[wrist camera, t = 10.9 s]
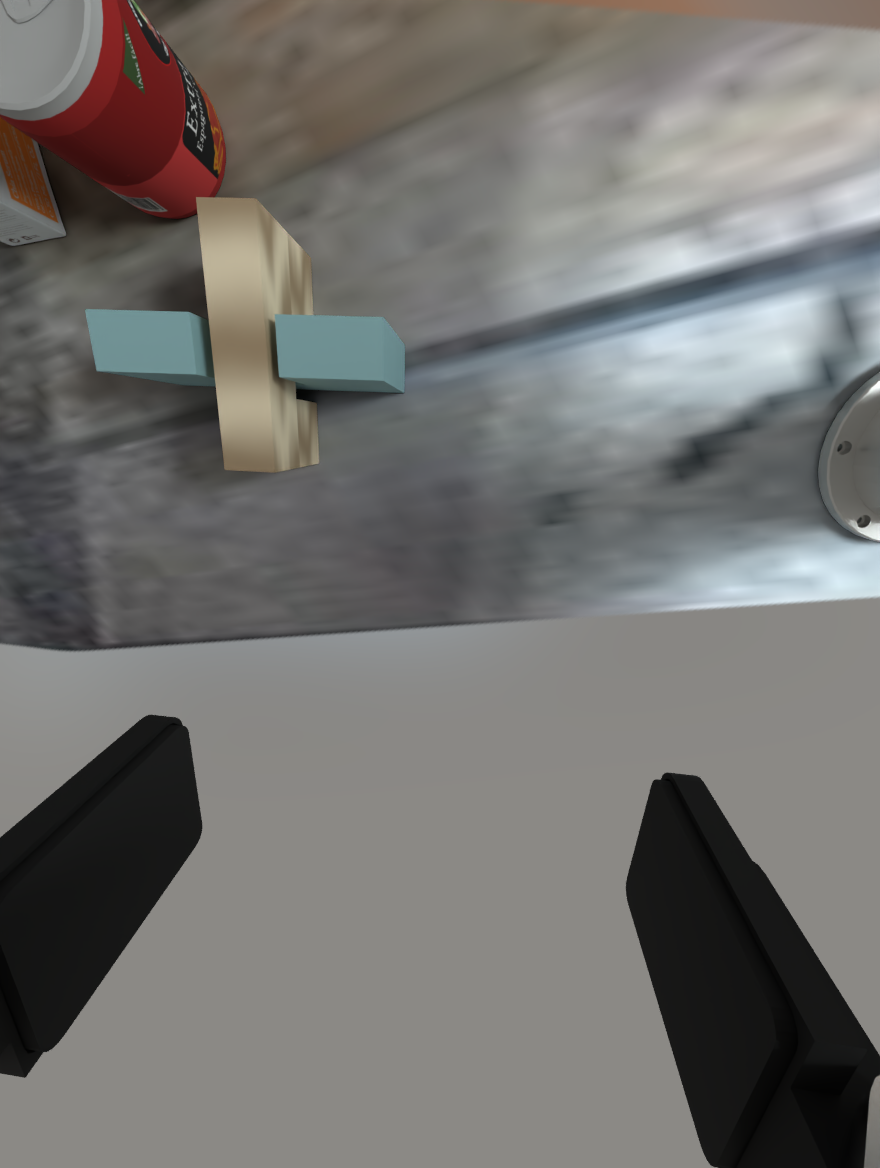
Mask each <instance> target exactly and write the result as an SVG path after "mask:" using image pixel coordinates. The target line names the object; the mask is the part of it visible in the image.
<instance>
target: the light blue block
mask: <svg viewBox="0 0 880 1168" xmlns="http://www.w3.org/2000/svg"><path fill="white" fill-rule="evenodd" d="M85 311H86V317H87V322H88V327H89V333H90V338H91V344H92V349H93V354H94V360H95V365H96V370H97V371H99V372H106V373H112V374H118V375H124V376H130V377H136V378H142V379H148V380H154V381H161V382H167V383H173V384H179V385H191V386H216V383H215V374H214V364H213V355H212V345H211V336H210V327H209V320H207V319H204V318H202V317H200V316H197V315H195V314H193V313H190V312H173V311H135V310H98V309H85ZM275 326H276V341H277V355H278V369H279V377H280V378H284V379H287V380H291V381H294V382H295V384H296V389H305V390H333V391H362V392H390V393H404V384H405V345H404V343H403V342H402V341H401V340H400V338H399V337H398V336H397V334H396V333H395V332H394V330H393V329H392V328H391V327H390V325H389V324H388V323H387V321H386V320H385V319H384V317H362V316H324V315H286V314H275Z"/></svg>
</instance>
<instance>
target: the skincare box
mask: <svg viewBox="0 0 880 1168" xmlns="http://www.w3.org/2000/svg"><path fill="white" fill-rule="evenodd" d="M63 236H66V231H65V229H64V226H63V223H62V221H61V218H60V214H59V211H58V208H57V205H56V202H55V199H54V195H53V192H52V189H51V186H50V183H49V180H48V177H47V173H46V170H45V166H44V163H43V160H42V156H41V153H40V150H39V146H38V143H37V142H36V141H35V140H33V139H32V138H30V137H29V136H27V135H26V134H24V133H23V132H21V131H20V130H18V129H17V128H15V127H14V126H12V125H11V124H9V123H8V122H6V121H5V120H3V119H2V118H1V117H0V241H1V242H3V243H6V244H8V245H11V246H16V245H22V244H27V243H32V242H37V241H42V240H47V239H53V238H58V237H63Z"/></svg>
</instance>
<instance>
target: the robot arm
mask: <svg viewBox="0 0 880 1168" xmlns="http://www.w3.org/2000/svg"><path fill="white" fill-rule="evenodd" d="M818 476H819V488H820V491H821V495H822V498H823V502H824V504H825V505H826V507H827V509H828V511H829V512H830V514H831V516H832V517H833V518H834V519H835V520H836V521H837V522H838V523H839V524H840V525H841V526H842V527H844V528H845V529H847V530H848V531H850V532H852V533H853V534H855V535H858V536H861V537H863V538H866V539H869V540H873V541H877V542H880V372H879V373H877V374H876V375H875V376H873V377H872V378H871V379H869V380H868V381H866V382H865V383H864V384H863V385H862V386H861V387H860V388H859V389H858V390H857V391H856V392H855V393H854V394H853V395H852V396H851V397H850V398H849V400H848V401H847V402H846V404H845V405H844V406H843V408H842V409H841V410H840V412H839V413H838V414H837V416H836V418H835V419H834V421H833V423H832V425H831V427H830V429H829V431H828V432H827V435H826V438H825V441H824V444H823V447H822V450H821V454H820V460H819V467H818ZM201 833H202V820H201V813H200V806H199V800H198V793H197V786H196V779H195V772H194V765H193V758H192V752H191V745H190V738H189V732H188V729H187V728H186V727H185V726H183V725H182V722H181V721H180V719H178V718H175V717H166V716H157V715H148V716H145V717H144V718H142V719H141V720H140V721H138V722H137V723H136V724H135V725H134V726H132V727H131V728H130V729H129V730H128V731H127V732H125V733H124V734H123V735H122V736H121V737H119V738H118V739H117V740H116V741H115V742H113V743H112V744H111V745H110V746H109V747H108V748H106V749H105V750H104V751H103V752H102V753H100V754H99V755H98V756H97V757H96V758H95V759H93V760H92V761H91V762H90V763H88V764H87V765H86V766H85V767H84V768H83V769H81V770H80V771H79V772H78V773H77V774H75V775H74V776H73V777H72V778H71V779H69V780H68V781H67V782H66V783H65V784H63V786H61V787H60V788H59V789H57V790H56V791H55V792H54V793H53V794H52V795H50V796H49V797H48V798H47V799H46V800H44V801H43V802H42V803H41V804H40V805H38V806H37V807H36V808H35V809H34V810H33V811H31V812H30V813H29V814H28V815H27V816H25V817H24V818H23V819H22V820H21V821H19V822H18V823H17V824H16V825H15V826H13V827H12V828H11V829H10V830H9V831H7V832H6V833H5V834H4V835H3V836H2V837H1V838H0V1073H2V1074H7V1075H14V1076H19V1077H24V1078H25V1077H26V1076H27V1075H28V1073H29V1072H30V1070H31V1069H32V1067H33V1066H34V1065H35V1063H36V1062H37V1060H38V1059H39V1058H40V1056H41V1055H42V1053H43V1052H47V1051H49V1050H51V1049H52V1048H53V1047H54V1046H55V1045H57V1043H58V1042H59V1041H60V1040H61V1039H62V1037H63V1036H64V1035H65V1033H66V1032H67V1030H68V1029H69V1027H70V1026H71V1025H72V1023H73V1022H74V1020H75V1019H76V1018H77V1016H78V1015H79V1013H80V1011H81V1010H82V1009H83V1007H84V1006H85V1005H86V1003H87V1002H88V1000H89V999H90V997H91V996H92V995H93V993H94V992H95V990H96V989H97V987H98V986H99V985H100V983H101V982H102V980H103V979H104V977H105V976H106V974H107V973H108V972H109V970H110V969H111V967H112V966H113V964H114V963H115V962H116V960H117V959H118V957H119V956H120V954H121V953H122V951H123V950H124V949H125V947H126V946H127V944H128V943H129V941H130V940H131V939H132V937H133V936H134V934H135V933H136V931H137V930H138V928H139V927H140V926H141V924H142V923H143V921H144V920H145V918H146V917H147V915H148V914H149V913H150V911H151V910H152V908H153V907H154V906H155V904H156V902H157V901H158V900H159V898H160V897H161V895H162V894H163V892H164V891H165V890H166V888H167V887H168V885H169V884H170V883H171V881H172V879H173V878H174V877H175V875H176V874H177V872H178V871H179V870H180V868H181V867H182V865H183V864H184V862H185V861H186V860H187V858H188V856H189V855H190V854H191V852H192V851H193V849H194V848H195V846H196V845H197V843H198V841H199V839H200V836H201ZM626 895H627V901H628V905H629V908H630V911H631V915H632V918H633V921H634V925H635V928H636V931H637V935H638V938H639V941H640V945H641V948H642V951H643V955H644V958H645V961H646V965H647V968H648V971H649V975H650V978H651V981H652V985H653V988H654V991H655V994H656V998H657V1001H658V1004H659V1008H660V1011H661V1014H662V1018H663V1021H664V1025H665V1028H666V1031H667V1035H668V1038H669V1041H670V1045H671V1048H672V1051H673V1055H674V1058H675V1061H676V1065H677V1068H678V1071H679V1075H680V1078H681V1081H682V1085H683V1088H684V1091H685V1095H686V1098H687V1101H688V1105H689V1108H690V1111H691V1114H692V1118H693V1121H694V1125H695V1128H696V1131H697V1135H698V1138H699V1141H700V1144H701V1147H702V1150H703V1153H704V1155H705V1157H706V1159H707V1161H708V1162H709V1163H710V1165H711V1166H713V1167H718V1168H880V1056H879V1054H878V1052H877V1051H876V1049H875V1047H874V1046H873V1044H872V1043H871V1041H870V1039H869V1038H868V1036H867V1035H866V1033H865V1032H864V1030H863V1028H862V1027H861V1025H860V1024H859V1022H858V1020H857V1019H856V1017H855V1016H854V1014H853V1013H852V1011H851V1009H850V1008H849V1006H848V1005H847V1003H846V1001H845V1000H844V998H843V997H842V995H841V993H840V992H839V990H838V989H837V987H836V986H835V984H834V982H833V981H832V979H831V978H830V976H829V974H828V973H827V971H826V970H825V968H824V966H823V965H822V963H821V962H820V960H819V958H818V957H817V955H816V954H815V952H814V950H813V949H812V947H811V946H810V944H809V943H808V941H807V939H806V938H805V936H804V935H803V933H802V931H801V930H800V928H799V927H798V925H797V923H796V922H795V920H794V919H793V917H792V916H791V914H790V912H789V911H788V909H787V908H786V906H785V904H784V903H783V901H782V900H781V898H780V897H779V895H778V893H777V892H776V890H775V888H774V887H773V885H772V884H771V882H770V881H769V879H768V877H767V876H766V874H765V873H764V872H763V870H762V869H761V868H760V867H759V865H758V864H756V863H755V862H753V861H752V860H751V858H750V857H749V855H748V853H747V852H746V850H745V848H744V847H743V846H742V844H741V842H740V840H739V839H738V837H737V836H736V834H735V832H734V831H733V829H732V827H731V826H730V825H729V823H728V821H727V819H726V818H725V816H724V815H723V813H722V811H721V810H720V808H719V806H718V805H717V803H716V801H715V800H714V798H713V797H712V795H711V793H710V792H709V790H708V789H707V787H706V785H705V784H704V782H703V781H702V780H701V778H699V777H697V776H693V775H684V774H675V773H665V774H664V775H663V776H662V778H661V780H654V781H653V783H652V785H651V789H650V794H649V797H648V801H647V804H646V808H645V812H644V816H643V819H642V823H641V827H640V831H639V835H638V839H637V842H636V846H635V850H634V854H633V857H632V861H631V865H630V869H629V873H628V876H627V882H626Z"/></svg>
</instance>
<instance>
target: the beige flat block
mask: <svg viewBox="0 0 880 1168" xmlns="http://www.w3.org/2000/svg"><path fill="white" fill-rule="evenodd" d="M196 203H197V213H198V222H199V232H200V241H201V251H202V260H203V270H204V279H205V289H206V298H207V308H208V317H209V327H210V336H211V345H212V355H213V364H214V374H215V383H216V393H217V402H218V412H219V421H220V431H221V440H222V450H223V459H224V469H225V470H235V471H254V472H274V473H276V472H280V471H285V470H290V469H295V468H300V467H305V466H310V465H315V464H319V445H318V420H317V403H314V402H309V401H304V400H299V399H296V384H295V382H294V381H291V380H287V379H284V378H280V377H279V369H278V355H277V341H276V326H275V314H286V315H313V297H312V272H311V258H310V257H309V256H308V254H307V253H306V252H305V251H304V250H303V249H302V248H301V247H300V246H299V245H298V244H297V243H296V241H295V240H294V239H293V238H292V237H291V236H290V235H289V234H288V233H287V232H286V231H285V230H284V228H283V227H282V226H281V225H280V224H279V223H278V222H277V221H276V220H275V219H274V218H273V217H272V215H271V214H270V213H269V212H268V211H267V210H266V209H265V208H264V207H263V206H262V205H261V204H260V202H259V201H258V200H257V199H256V198H213V197H196Z"/></svg>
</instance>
